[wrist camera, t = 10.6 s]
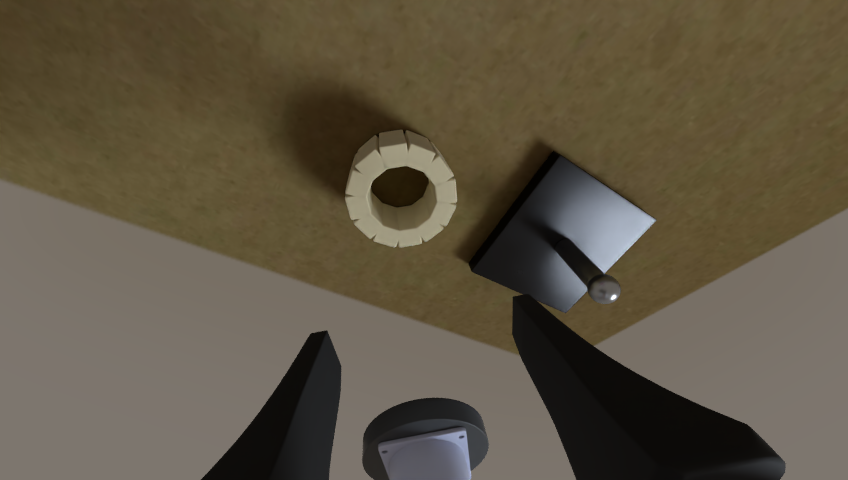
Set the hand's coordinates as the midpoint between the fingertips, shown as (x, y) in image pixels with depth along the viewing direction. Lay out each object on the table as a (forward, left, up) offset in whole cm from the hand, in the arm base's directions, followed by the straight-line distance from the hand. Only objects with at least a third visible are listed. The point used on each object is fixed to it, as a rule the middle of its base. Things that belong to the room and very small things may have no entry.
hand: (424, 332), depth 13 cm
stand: (-3, -10, -9) cm, 14 cm away
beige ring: (+3, 0, -9) cm, 10 cm away
